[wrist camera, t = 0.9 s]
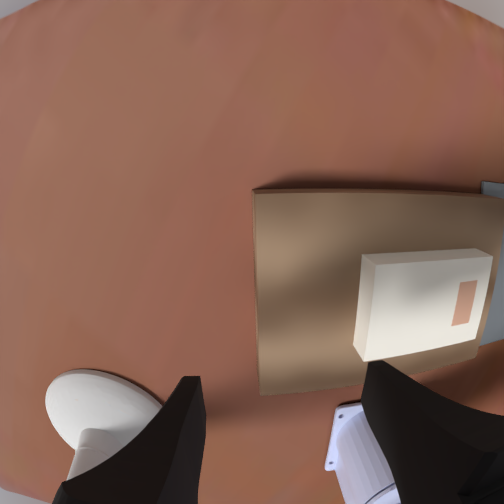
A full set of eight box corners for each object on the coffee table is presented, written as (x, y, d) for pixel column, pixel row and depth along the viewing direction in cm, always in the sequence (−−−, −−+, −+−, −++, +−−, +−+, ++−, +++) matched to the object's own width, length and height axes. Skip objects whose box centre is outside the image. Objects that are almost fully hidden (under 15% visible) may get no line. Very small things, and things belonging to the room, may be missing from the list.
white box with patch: (475, 248, 18) (493, 256, 16) (460, 326, 20) (475, 338, 18) (361, 254, 18) (375, 265, 16) (352, 344, 20) (363, 361, 18)
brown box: (457, 341, 24) (475, 357, 21) (257, 370, 23) (260, 395, 20) (481, 193, 20) (505, 199, 18) (252, 189, 20) (255, 194, 17)
